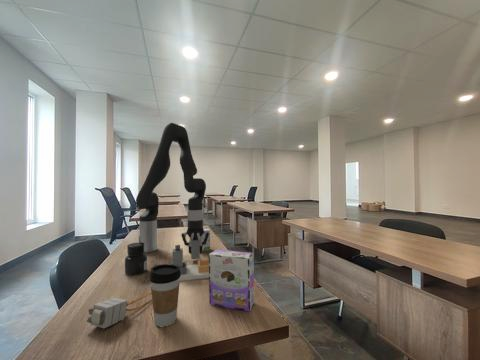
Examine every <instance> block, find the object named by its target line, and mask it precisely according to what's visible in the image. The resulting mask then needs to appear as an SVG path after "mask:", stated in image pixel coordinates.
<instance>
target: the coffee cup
mask: <svg viewBox="0 0 480 360" xmlns="http://www.w3.org/2000/svg"><path fill="white" fill-rule="evenodd" d="M169 264H170V263H169ZM169 264H167V263H166V264H157V265H155V266H152V267H151V268H150V275H149V282H150V283H151V286H150V290H151V291H150V293H151V292H152V294H151V300H152V301H151V302H152V309H153V311H152V312H153V319H154V325H155V324H156V325H158V326H166V327H168V326H167V325H170V324H172V323H173V322H174V321H175V320H176V321H177V318H178V317H177V316H178V315H177V314H178V305H179V304H178V303H179V293H180V281H179V278H180V276H181V275H180V274H181V272H180V268H179V267H178V266H176V265H169ZM176 321H175V322H176ZM175 322H174V323H175ZM174 323H173V324H174ZM173 324H172V325H173ZM156 325H155V326H156ZM158 326H157V327H158ZM170 326H171V325H170Z"/></svg>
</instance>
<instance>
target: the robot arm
mask: <svg viewBox="0 0 480 360" xmlns="http://www.w3.org/2000/svg"><path fill="white" fill-rule="evenodd" d="M173 142H174V143H177V144H178V146H179V149H180V154H179V165H180V167H181V170H182V172H183V185H184V189H185V190H186V192H188V193H191V194H193V193H194V195H193V196H192V197H190V198H189V199H188V200H187V230H186V232H182V233H181V234H180V236H181V238H182V241H183V244H184V246H186V247H188V253H189V254H190V255H191V241H192V240H194V239H198V240H200V254H201V253H202V246H203V245H204V244H206V242H207V239H208V236H209V232H205V231H204V230H203V229H204V212H203V211H204V210H203V206H204V205H203V203H204V202H203V201H204V198H205V195H206V189H207V184H206V181H205V180H204V179H203V178H194V176H195V175H197V174H198V169H197V166H196V163H195V160H194V158H193V155H192V151H191V145H190V140H189V135H188V131H187V129H186V128H185V127H184V126H183V125H180V124H177V123H174V122H169V123H167V124H166V125H165V127H164V128H163V132H162V134H161V138H160V142H159V145H158V148H157V150H156V154H155V156H154V158H153V161H152V163H151V166H150V167H149V171H148V174H147V175H146V177H145V180H144V182H143V184H142V186H141V188H140V190H139V192H138V194H137V196H136V199H135V206H136V207H137V208H138V210H139V209H140V210H144V212H143V213H142V214H140V215H139V218H138V219H139V235H138V242H141V243H144V253H145V254H146V253H152V252H155V251H157V250H158V219H157V218H158V215H159V203H160V202H159V196H158V194H157V193H156V192H154V190H155V188H156V187H157V186H158V185H159V184H161V182H162V181H163V180H164V179H165V178H166V177H167V175H168V172H169V170H170V169H171V168H170V167H171V158H170V157H171V156H170V148H171V145H172V144H173ZM203 233H204V236H205V238H204V241H203V242H202V241H201V236H202V235H203ZM187 236H188V237H189V241H187ZM191 239H192V240H191Z"/></svg>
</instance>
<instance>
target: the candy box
mask: <svg viewBox="0 0 480 360" xmlns="http://www.w3.org/2000/svg"><path fill="white" fill-rule="evenodd" d="M254 259H255V258H254V252H249V251H248V252H246V251H236V250H228V249H226V250H225V249H215V250H213V251H212V252H210V253H209V254H208V260H209V278H208V283H209V285H208V287H209V289H208V290H209V291H208V292H209V295H208V296H209V297H208V298H209V305H210V304H211V306H214V307H215V306H216V307H222V308H227V309H231V310H238V311H244V312H251V310H252V308H253V306H254V304H255V270H254V269H255V267H254V266H255V264H254Z"/></svg>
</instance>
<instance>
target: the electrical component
mask: <svg viewBox="0 0 480 360" xmlns="http://www.w3.org/2000/svg"><path fill="white" fill-rule="evenodd" d="M150 295H152V292H151V291H150V292H149V293H146V294H145V295H143V296H141V297H139V298H136V299H135V300H133V301H130V302H128V300H126V299H123V298H119V297H111V298H109V299H106V300H103V301H100V302H98V303H94V305H93V307H89V308H88V314H89V315H90V316H89V317H88V318H87V320H86V322H87V323H89V324H90V325H92V326H95V327H98V328H102V329H107V328H108V327H110V326H112V325H114V324H117V323H119V322H121V321H123V320H124V318H125V319H126V315H127V312H129V311H130V312H131V311H132V312H133V311H135V310H138V309H140V308H141V307H144V306H145V304H146V303H147V304H149V303H151V302H153V301H152V299H150V300H148V301H146V302H145V303H144V304H142V305H139V306H137V307H135V308H130V309H127V307H128V306H131V305H132V304H135V303H136V302H138V301H139V300H143V298H146V297H147V296H150ZM147 304H146V305H147ZM143 305H144V306H143ZM122 319H123V320H122ZM120 320H121V321H120ZM118 321H119V322H118Z"/></svg>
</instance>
